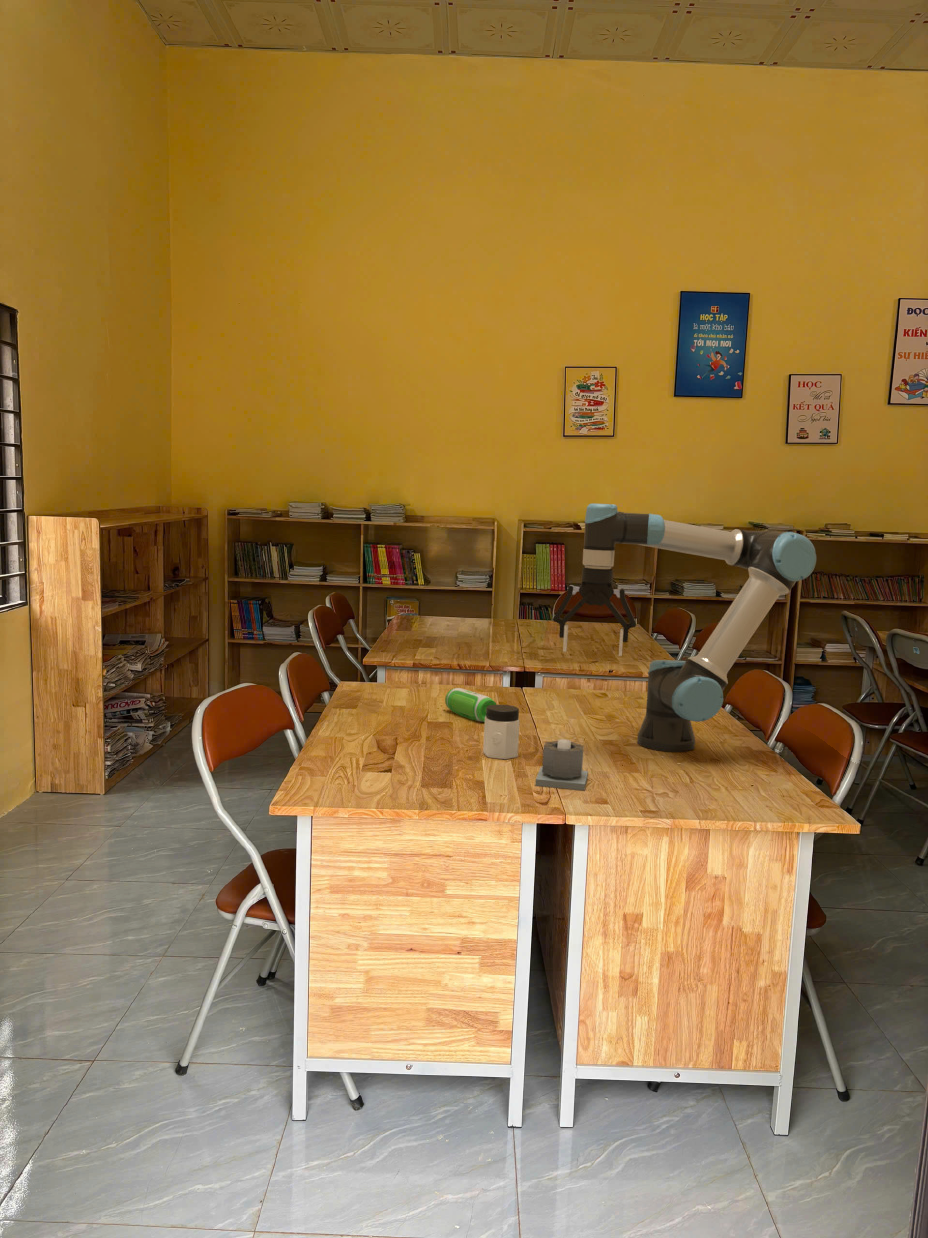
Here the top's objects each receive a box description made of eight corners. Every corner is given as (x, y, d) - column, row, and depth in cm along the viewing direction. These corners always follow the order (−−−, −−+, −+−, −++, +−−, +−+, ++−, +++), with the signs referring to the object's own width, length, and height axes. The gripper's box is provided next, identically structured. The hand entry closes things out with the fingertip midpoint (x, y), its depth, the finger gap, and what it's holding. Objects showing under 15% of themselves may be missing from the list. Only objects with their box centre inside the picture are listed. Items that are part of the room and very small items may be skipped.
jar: (478, 756, 243) (480, 709, 241) (487, 749, 250) (489, 703, 249) (513, 761, 240) (516, 713, 239) (521, 753, 248) (524, 706, 246)
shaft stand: (587, 777, 229) (590, 737, 228) (584, 790, 218) (587, 749, 217) (540, 772, 231) (542, 733, 230) (535, 785, 220) (537, 744, 219)
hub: (582, 768, 228) (584, 743, 227) (580, 778, 219) (581, 752, 219) (545, 764, 229) (546, 739, 229) (540, 775, 221) (542, 748, 220)
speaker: (498, 722, 281) (499, 696, 280) (478, 725, 277) (479, 699, 276) (463, 710, 295) (464, 685, 294) (443, 712, 291) (444, 687, 290)
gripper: (649, 569, 241) (643, 654, 244) (548, 563, 245) (543, 647, 248) (649, 571, 234) (643, 659, 236) (545, 565, 238) (540, 651, 241)
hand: (592, 653), depth 242 cm, fingers open, 13 cm apart
